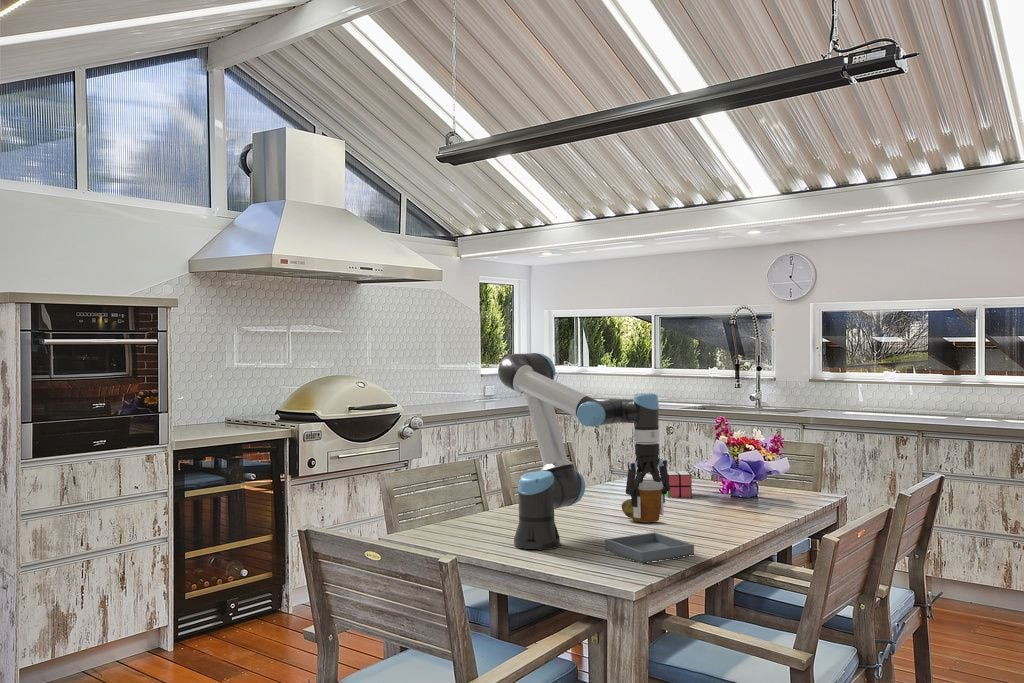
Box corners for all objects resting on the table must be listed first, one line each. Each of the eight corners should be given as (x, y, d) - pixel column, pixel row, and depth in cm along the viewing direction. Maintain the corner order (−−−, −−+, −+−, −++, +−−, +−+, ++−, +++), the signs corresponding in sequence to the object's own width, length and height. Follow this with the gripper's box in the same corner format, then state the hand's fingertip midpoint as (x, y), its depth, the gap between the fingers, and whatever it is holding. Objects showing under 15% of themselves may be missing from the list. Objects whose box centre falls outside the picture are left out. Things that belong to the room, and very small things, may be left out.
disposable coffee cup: (669, 521, 251) (668, 482, 251) (641, 524, 248) (640, 484, 248) (655, 515, 260) (654, 478, 260) (628, 518, 257) (627, 480, 257)
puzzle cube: (692, 497, 348) (691, 474, 348) (668, 498, 348) (668, 474, 348) (687, 493, 358) (686, 471, 358) (664, 494, 358) (664, 471, 358)
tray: (641, 564, 241) (641, 552, 241) (605, 550, 258) (604, 539, 258) (694, 555, 250) (694, 544, 250) (655, 543, 267) (655, 532, 267)
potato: (647, 525, 294) (646, 503, 294) (618, 521, 302) (617, 499, 303) (660, 522, 300) (659, 500, 300) (631, 517, 308) (631, 496, 309)
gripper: (626, 446, 246) (627, 521, 246) (681, 441, 256) (682, 514, 255) (612, 444, 253) (613, 517, 253) (666, 439, 263) (668, 510, 262)
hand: (648, 515), depth 254 cm, fingers closed on disposable coffee cup, 8 cm apart
